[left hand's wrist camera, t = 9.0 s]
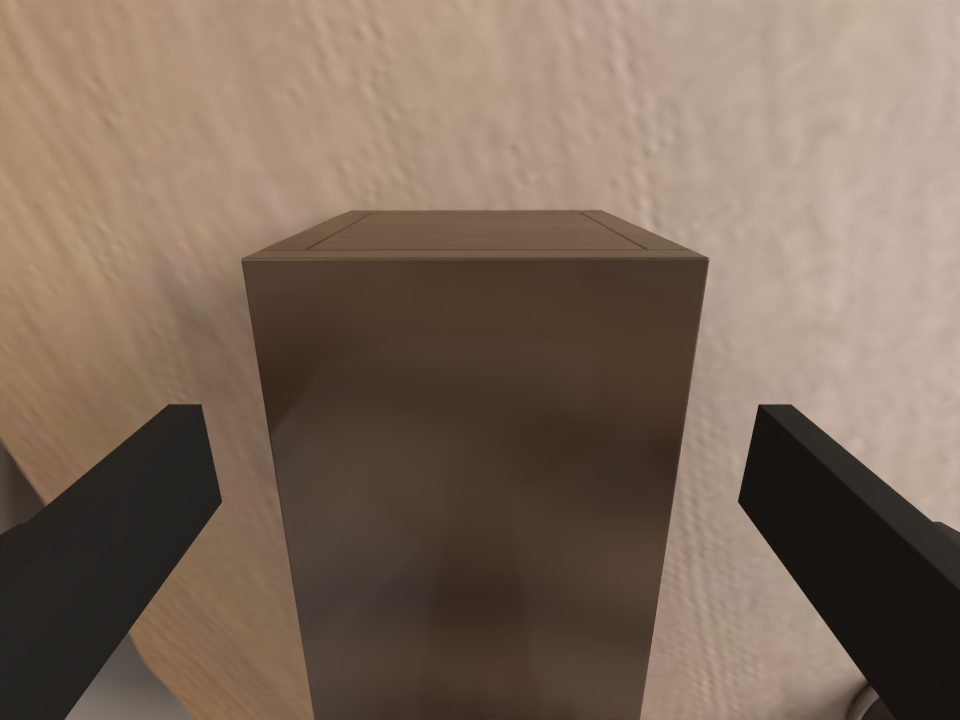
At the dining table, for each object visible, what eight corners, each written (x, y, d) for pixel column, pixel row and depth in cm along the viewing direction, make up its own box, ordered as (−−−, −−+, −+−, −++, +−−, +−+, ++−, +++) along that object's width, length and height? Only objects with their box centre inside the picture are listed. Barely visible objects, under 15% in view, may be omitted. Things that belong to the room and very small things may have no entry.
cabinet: (572, 599, 30) (623, 835, 20) (382, 600, 30) (332, 836, 20) (603, 210, 22) (711, 257, 12) (349, 210, 22) (240, 258, 12)
